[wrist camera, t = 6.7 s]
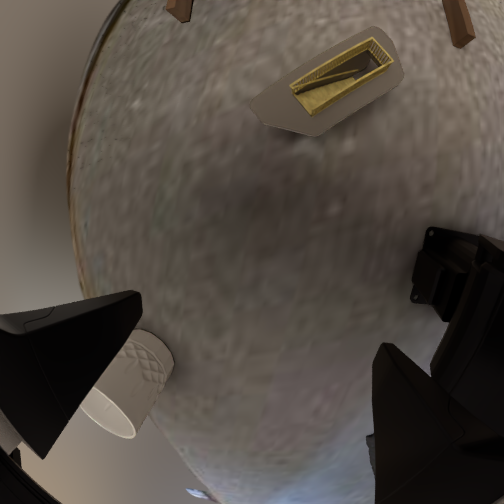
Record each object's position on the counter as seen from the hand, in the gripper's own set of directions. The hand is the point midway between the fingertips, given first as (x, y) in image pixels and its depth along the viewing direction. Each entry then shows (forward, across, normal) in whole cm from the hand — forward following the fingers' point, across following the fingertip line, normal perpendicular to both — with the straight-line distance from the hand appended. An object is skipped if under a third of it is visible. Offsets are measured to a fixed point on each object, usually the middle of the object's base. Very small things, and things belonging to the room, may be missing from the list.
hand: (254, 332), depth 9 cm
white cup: (+12, +13, +16) cm, 24 cm away
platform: (+13, -2, -11) cm, 17 cm away
